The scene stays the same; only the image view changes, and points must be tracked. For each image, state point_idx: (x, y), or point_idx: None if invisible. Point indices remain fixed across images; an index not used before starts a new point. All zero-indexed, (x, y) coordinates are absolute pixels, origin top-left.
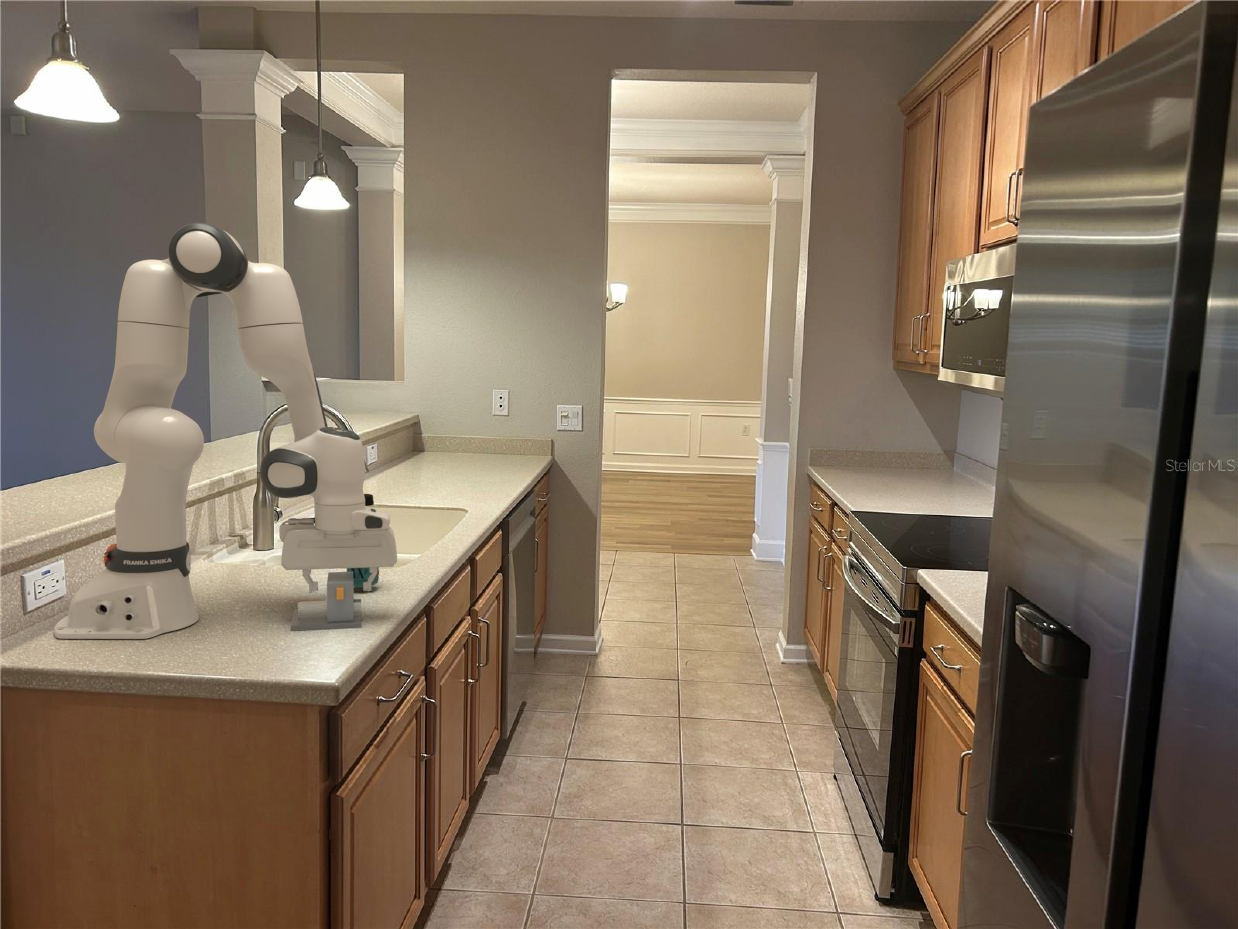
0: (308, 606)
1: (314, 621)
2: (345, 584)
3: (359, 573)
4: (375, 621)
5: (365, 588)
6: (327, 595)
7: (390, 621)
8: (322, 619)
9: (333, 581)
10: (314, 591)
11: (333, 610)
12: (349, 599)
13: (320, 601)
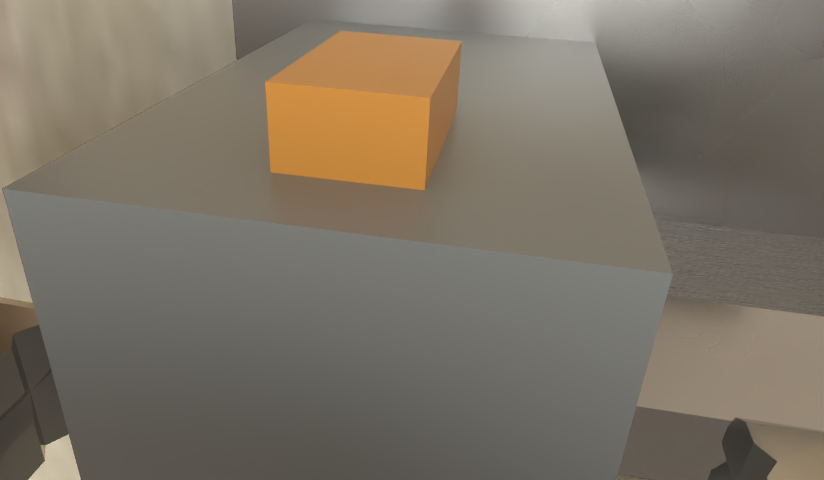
0: (813, 305)
1: (737, 92)
2: (196, 192)
3: None
4: (142, 98)
5: (12, 314)
6: (624, 147)
7: (14, 61)
8: (635, 138)
9: (471, 423)
10: (798, 434)
11: (521, 67)
12: (259, 85)
13: (643, 388)
